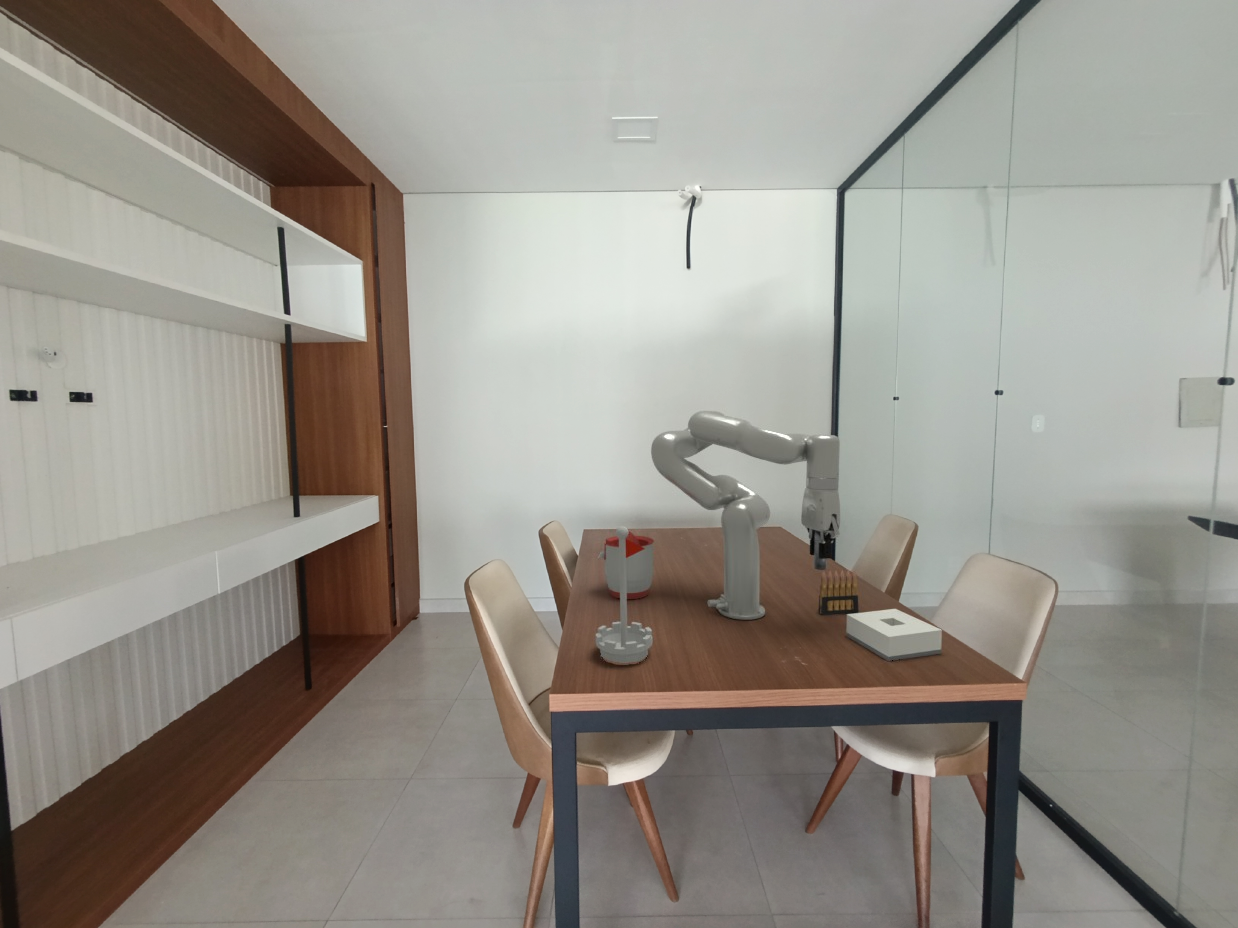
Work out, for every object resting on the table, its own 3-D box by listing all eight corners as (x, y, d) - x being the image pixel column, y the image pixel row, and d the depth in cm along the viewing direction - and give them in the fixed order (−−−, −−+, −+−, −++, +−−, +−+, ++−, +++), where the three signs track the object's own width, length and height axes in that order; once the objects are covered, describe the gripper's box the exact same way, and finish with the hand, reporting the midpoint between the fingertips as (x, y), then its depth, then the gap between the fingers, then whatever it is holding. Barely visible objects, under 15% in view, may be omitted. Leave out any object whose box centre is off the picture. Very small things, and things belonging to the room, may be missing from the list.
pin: (818, 570, 130) (819, 530, 129) (811, 567, 133) (812, 528, 132) (828, 569, 131) (830, 530, 130) (821, 566, 134) (822, 527, 133)
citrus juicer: (600, 586, 171) (599, 526, 169) (653, 586, 170) (653, 525, 168) (596, 602, 155) (595, 536, 153) (655, 602, 154) (654, 536, 153)
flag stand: (591, 666, 115) (588, 531, 112) (601, 641, 127) (598, 520, 125) (650, 669, 113) (648, 532, 110) (654, 643, 126) (652, 520, 123)
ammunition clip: (854, 610, 145) (855, 568, 144) (858, 613, 143) (859, 570, 142) (818, 612, 144) (818, 570, 143) (821, 615, 142) (821, 572, 141)
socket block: (888, 661, 114) (888, 636, 114) (846, 636, 128) (846, 614, 128) (941, 653, 118) (941, 629, 117) (894, 629, 131) (895, 608, 131)
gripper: (790, 481, 137) (789, 549, 139) (829, 489, 121) (827, 566, 123) (815, 480, 139) (814, 547, 141) (857, 487, 123) (854, 564, 125)
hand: (820, 555), depth 132 cm, fingers closed on pin, 3 cm apart
